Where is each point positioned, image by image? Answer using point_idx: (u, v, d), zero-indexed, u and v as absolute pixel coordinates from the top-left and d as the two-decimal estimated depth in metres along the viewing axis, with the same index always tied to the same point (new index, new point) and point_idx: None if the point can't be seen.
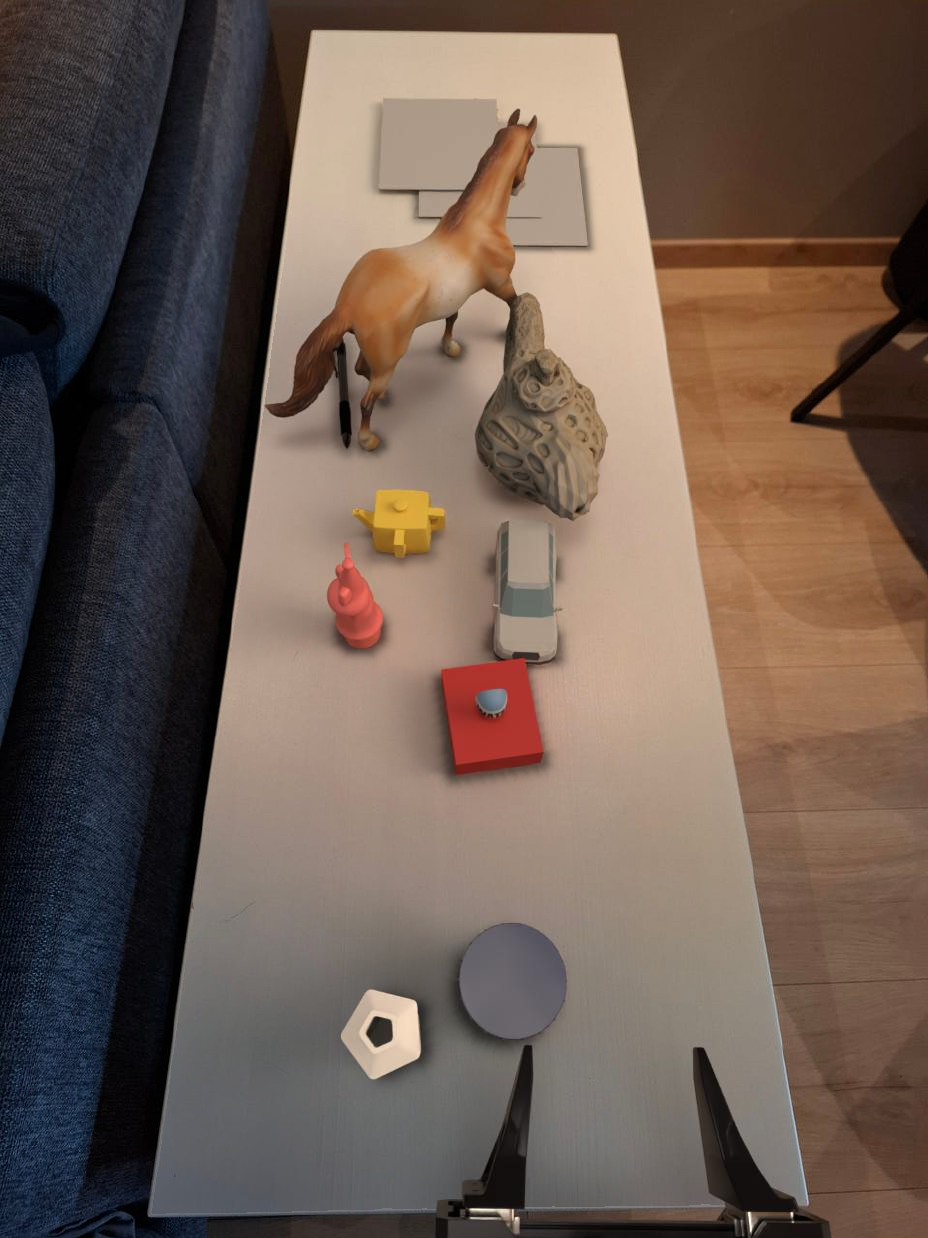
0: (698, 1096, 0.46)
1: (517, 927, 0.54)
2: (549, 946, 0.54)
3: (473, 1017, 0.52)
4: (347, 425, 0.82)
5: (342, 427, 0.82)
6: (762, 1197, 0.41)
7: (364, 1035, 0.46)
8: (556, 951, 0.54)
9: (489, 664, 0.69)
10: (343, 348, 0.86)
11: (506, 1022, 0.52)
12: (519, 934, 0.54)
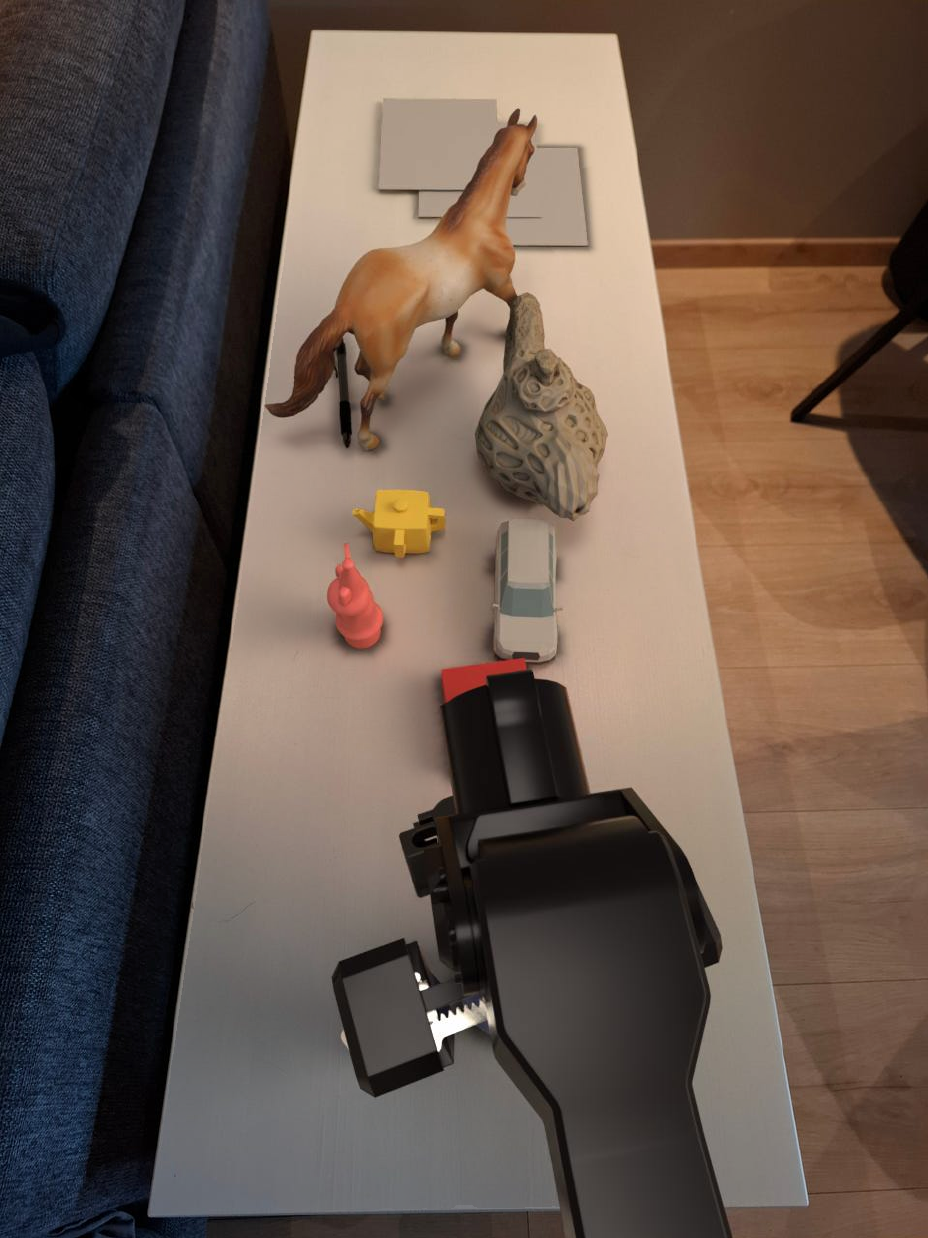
0: None
1: None
2: None
3: None
4: (347, 425, 0.82)
5: (342, 427, 0.82)
6: None
7: None
8: None
9: (489, 664, 0.69)
10: (343, 348, 0.86)
11: None
12: None
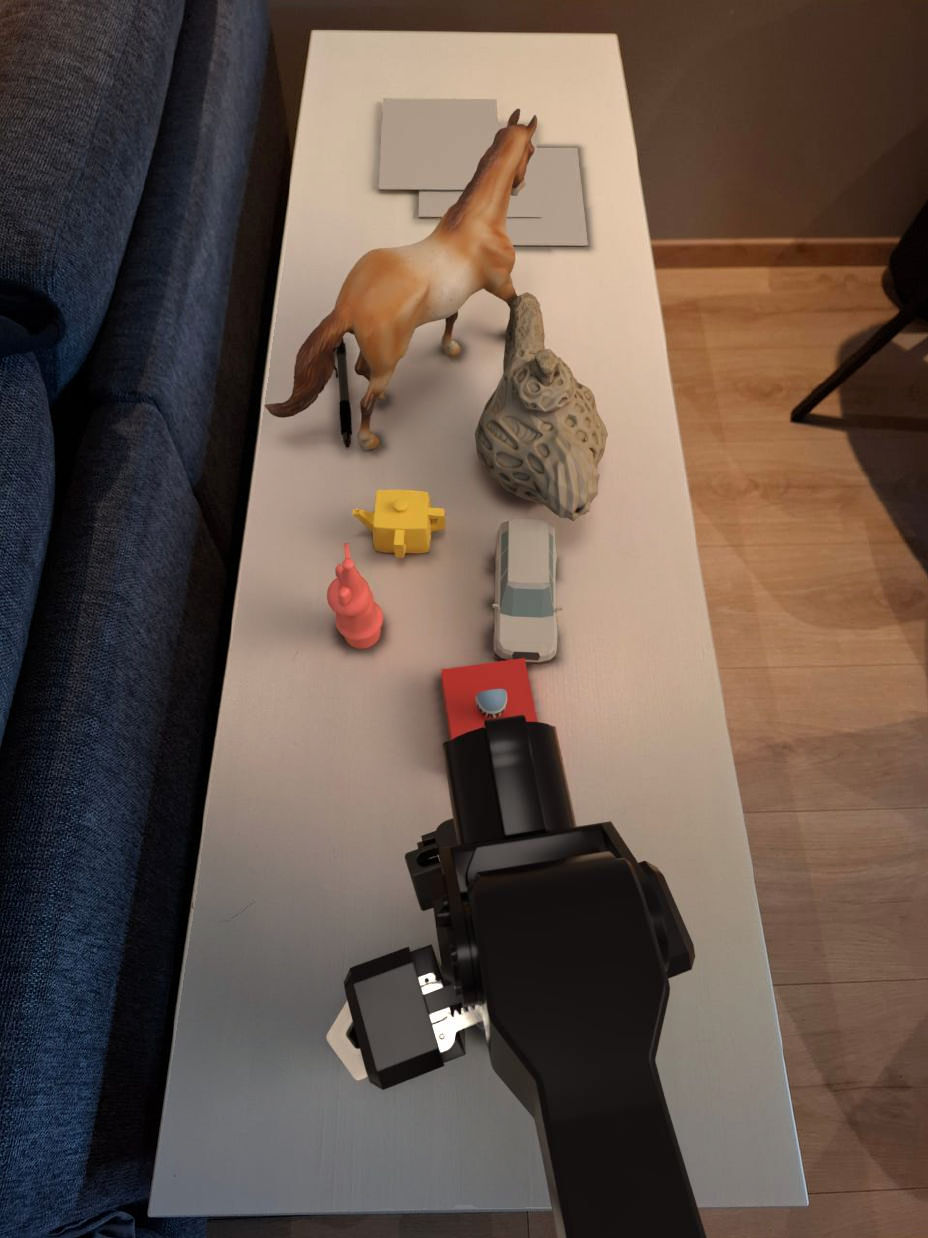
0: None
1: None
2: None
3: None
4: (347, 425, 0.82)
5: (342, 427, 0.82)
6: None
7: (345, 1036, 0.46)
8: None
9: (489, 664, 0.69)
10: (343, 348, 0.86)
11: None
12: None
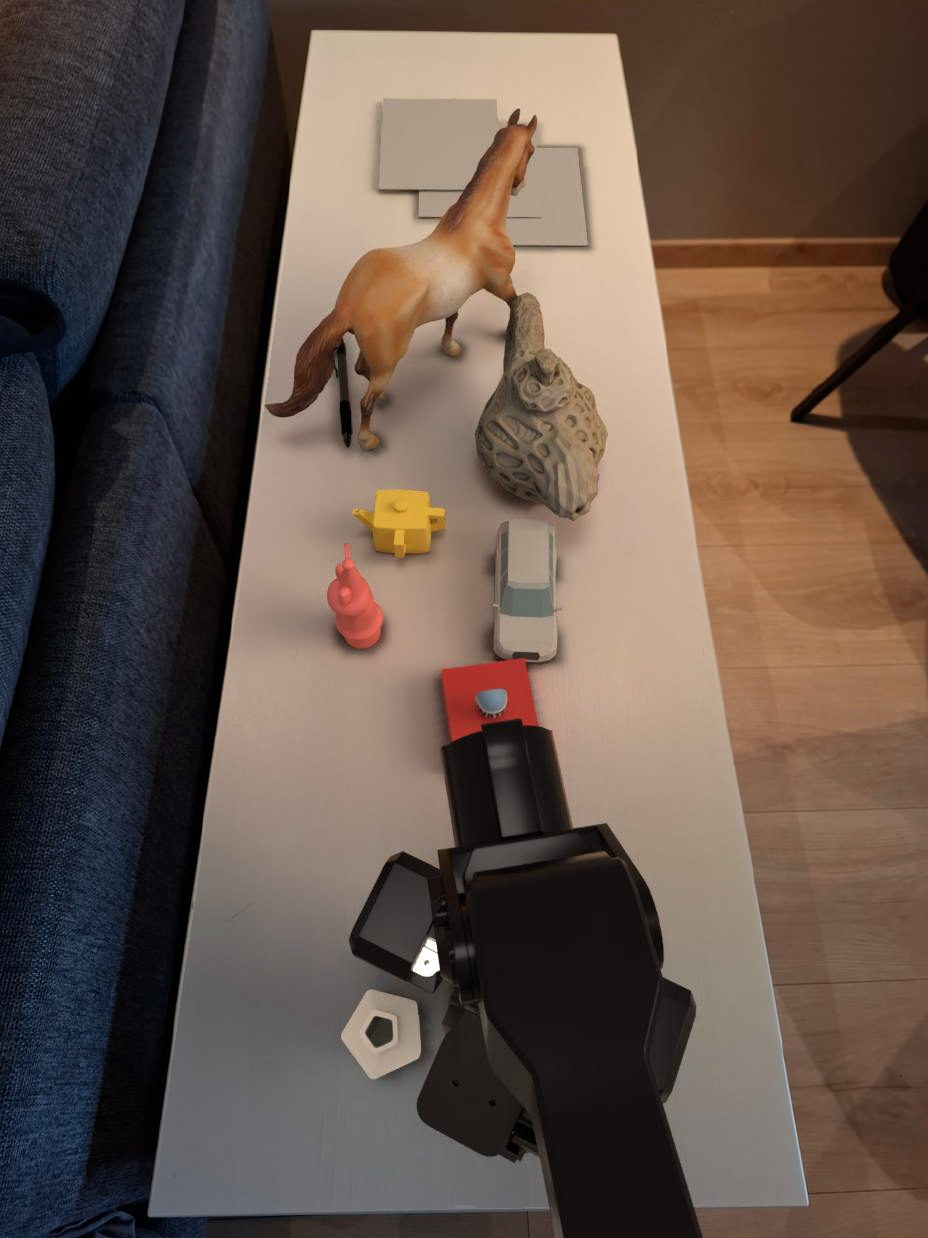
0: None
1: None
2: None
3: None
4: (348, 425, 0.82)
5: (343, 427, 0.82)
6: None
7: (364, 1035, 0.46)
8: None
9: (489, 664, 0.69)
10: (343, 348, 0.86)
11: None
12: None
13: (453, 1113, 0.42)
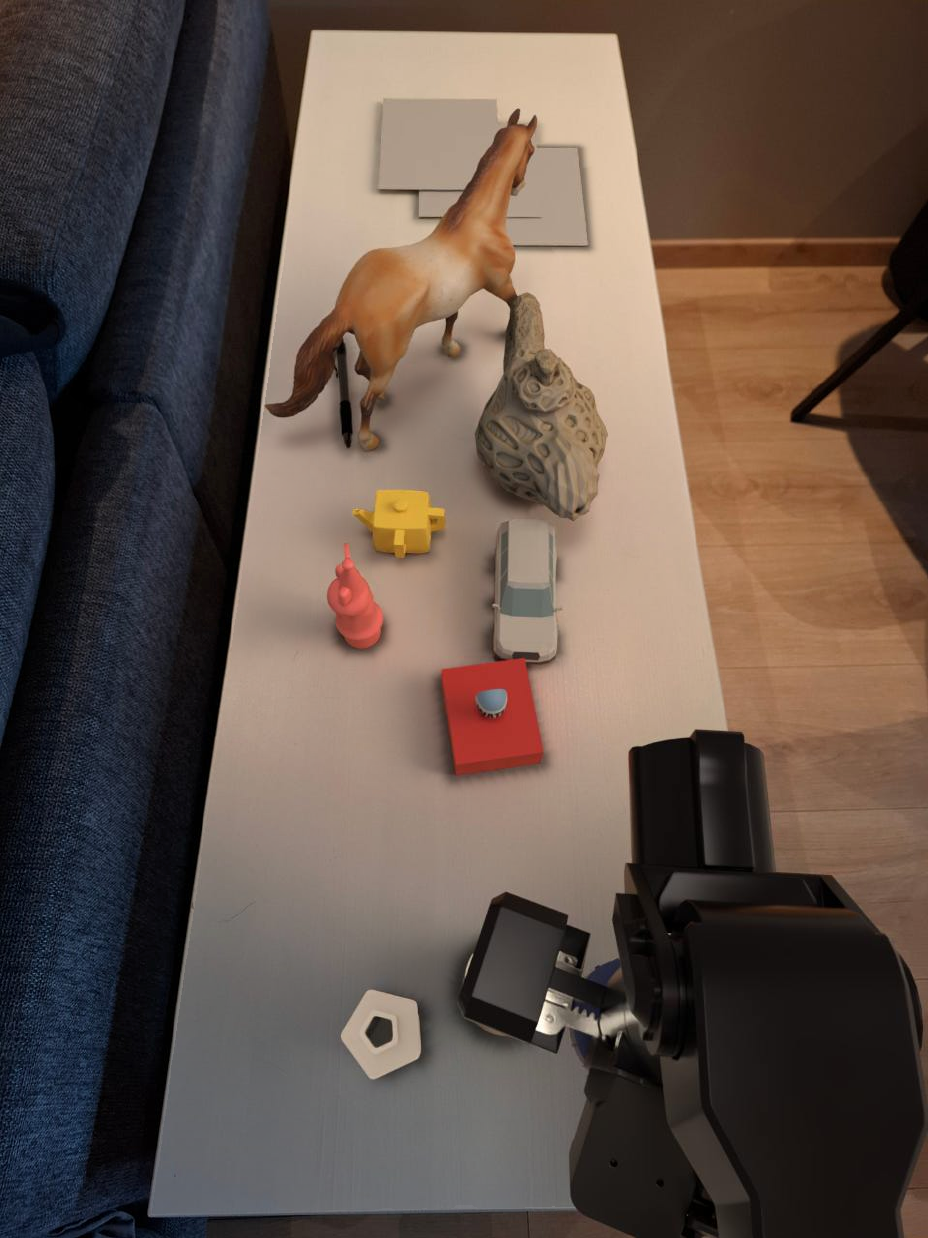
0: None
1: None
2: None
3: None
4: (348, 425, 0.82)
5: (343, 427, 0.82)
6: None
7: (364, 1035, 0.46)
8: None
9: (489, 664, 0.69)
10: (343, 348, 0.86)
11: None
12: None
13: (615, 1199, 0.36)
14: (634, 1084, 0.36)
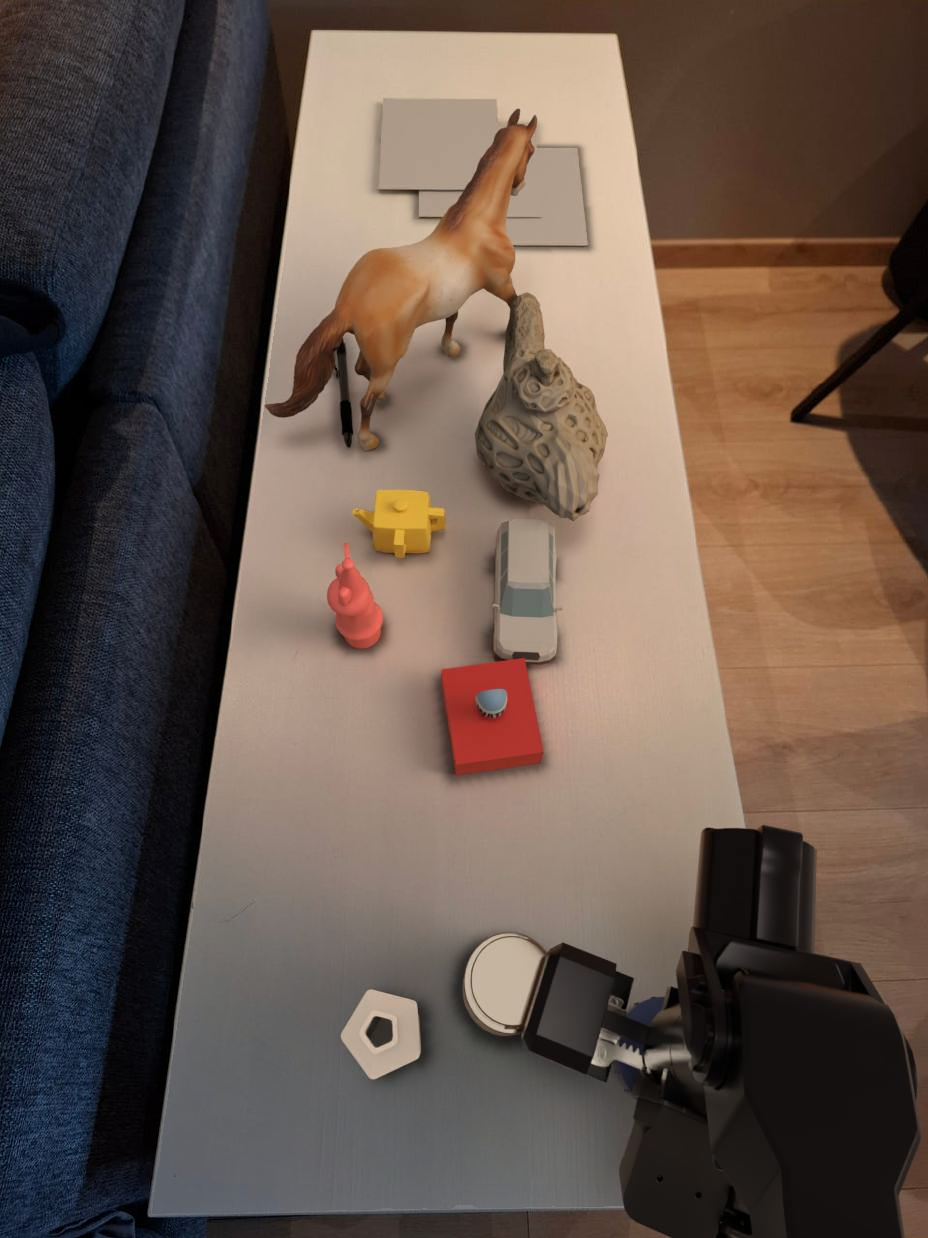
0: None
1: None
2: None
3: None
4: (348, 425, 0.82)
5: (343, 427, 0.82)
6: None
7: (364, 1035, 0.46)
8: None
9: (489, 664, 0.69)
10: (343, 348, 0.86)
11: None
12: None
13: (660, 1208, 0.43)
14: (677, 1113, 0.44)
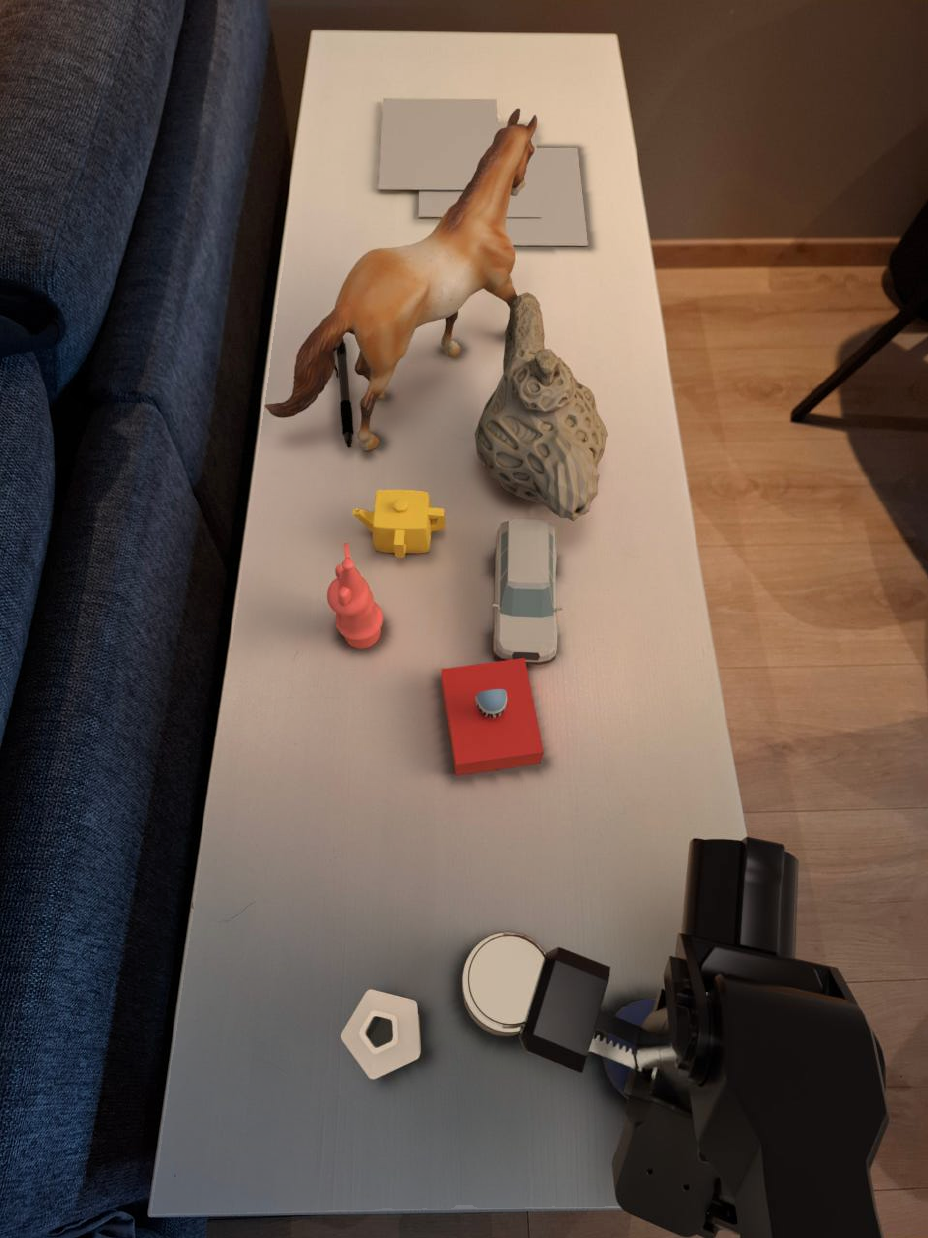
0: None
1: None
2: None
3: None
4: (349, 425, 0.82)
5: (344, 427, 0.82)
6: None
7: (364, 1035, 0.46)
8: None
9: (489, 664, 0.69)
10: (343, 348, 0.86)
11: None
12: None
13: (650, 1199, 0.45)
14: (666, 1109, 0.46)
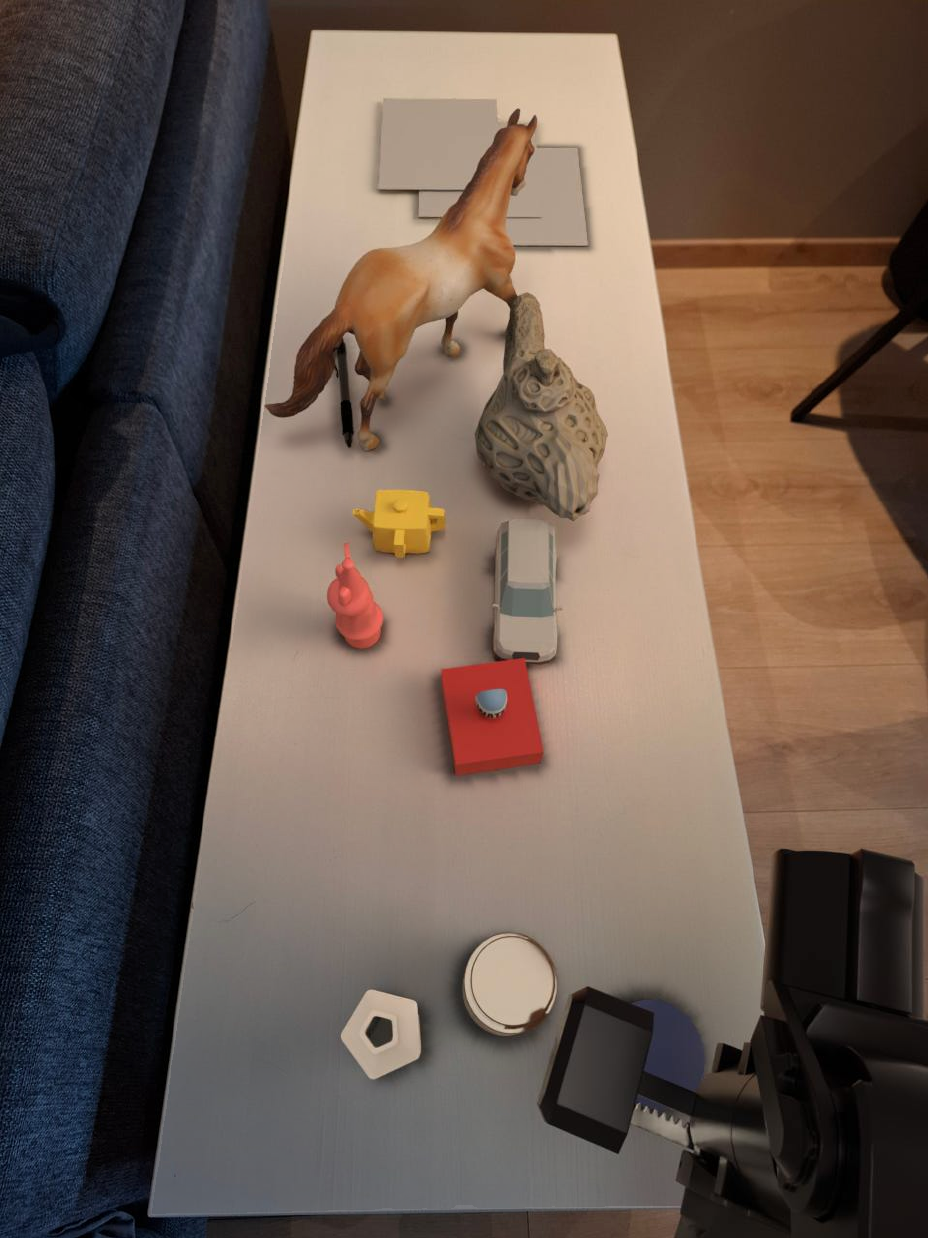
0: None
1: None
2: None
3: (703, 1054, 0.57)
4: (349, 425, 0.82)
5: (344, 427, 0.82)
6: None
7: (364, 1035, 0.46)
8: None
9: (489, 664, 0.69)
10: (343, 348, 0.86)
11: (681, 1029, 0.58)
12: None
13: None
14: (738, 1213, 0.34)
